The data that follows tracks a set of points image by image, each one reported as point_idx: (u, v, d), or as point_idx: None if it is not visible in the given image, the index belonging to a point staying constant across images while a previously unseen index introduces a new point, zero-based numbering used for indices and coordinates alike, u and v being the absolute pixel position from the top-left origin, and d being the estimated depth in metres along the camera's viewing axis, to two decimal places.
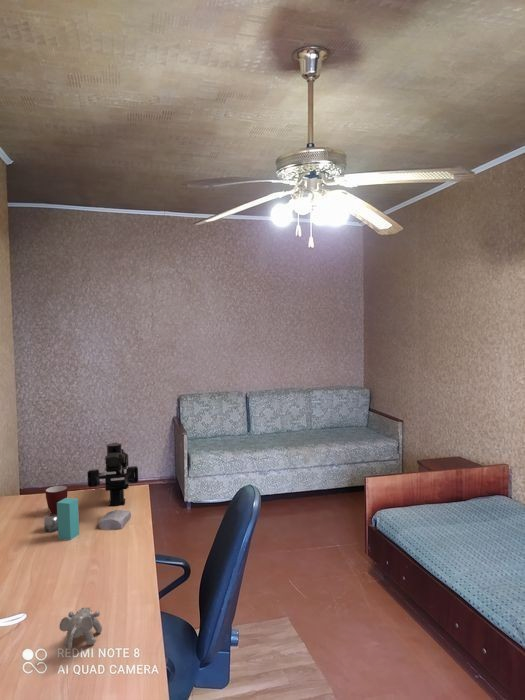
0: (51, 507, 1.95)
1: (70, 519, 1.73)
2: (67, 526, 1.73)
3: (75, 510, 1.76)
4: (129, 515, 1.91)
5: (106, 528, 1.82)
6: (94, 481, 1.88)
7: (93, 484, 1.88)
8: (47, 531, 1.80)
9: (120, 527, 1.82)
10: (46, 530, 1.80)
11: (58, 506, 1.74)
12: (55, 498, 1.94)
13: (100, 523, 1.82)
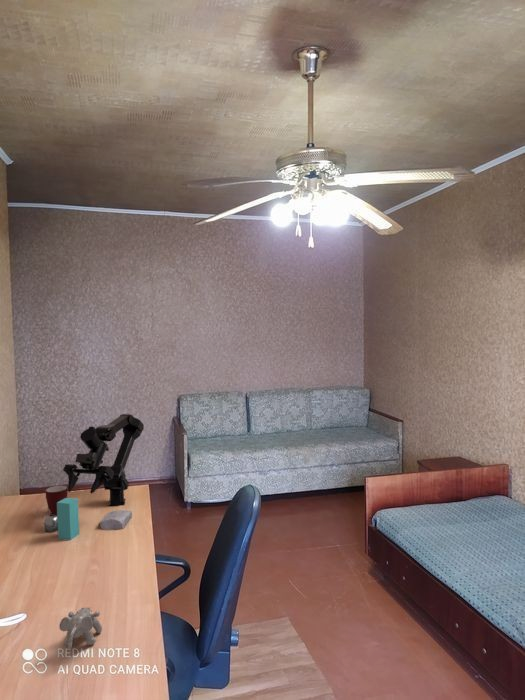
0: (51, 507, 1.95)
1: (70, 519, 1.73)
2: (67, 526, 1.73)
3: (75, 510, 1.76)
4: (130, 515, 1.91)
5: (107, 528, 1.82)
6: None
7: None
8: (47, 531, 1.80)
9: (121, 527, 1.82)
10: (46, 530, 1.80)
11: (58, 506, 1.74)
12: (55, 498, 1.94)
13: (101, 523, 1.82)
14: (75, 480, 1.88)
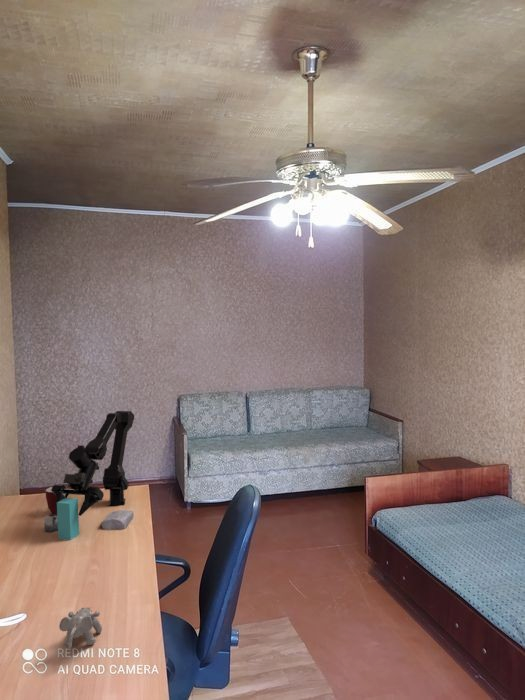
0: (51, 507, 1.95)
1: (70, 519, 1.73)
2: (67, 526, 1.73)
3: (75, 510, 1.76)
4: (132, 515, 1.91)
5: (109, 528, 1.82)
6: None
7: None
8: (47, 531, 1.80)
9: (123, 527, 1.82)
10: (46, 530, 1.80)
11: (58, 506, 1.74)
12: (55, 498, 1.94)
13: (103, 523, 1.82)
14: None
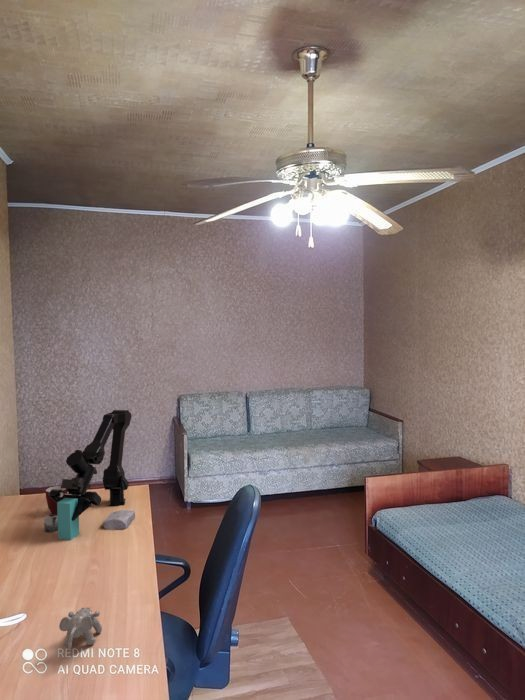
0: (51, 507, 1.95)
1: (70, 519, 1.73)
2: (68, 526, 1.73)
3: None
4: (133, 515, 1.90)
5: (111, 528, 1.82)
6: None
7: None
8: (47, 531, 1.80)
9: (125, 527, 1.82)
10: (46, 530, 1.80)
11: (58, 506, 1.74)
12: None
13: (105, 523, 1.82)
14: None
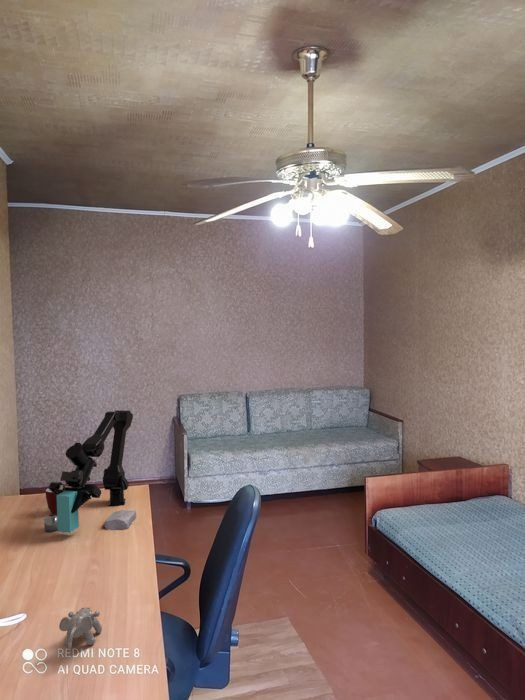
0: (51, 507, 1.95)
1: (70, 512, 1.73)
2: (67, 519, 1.73)
3: None
4: (134, 515, 1.91)
5: (112, 528, 1.82)
6: None
7: None
8: (47, 531, 1.80)
9: (126, 527, 1.82)
10: (46, 530, 1.80)
11: (58, 499, 1.74)
12: (55, 498, 1.94)
13: (106, 523, 1.82)
14: None
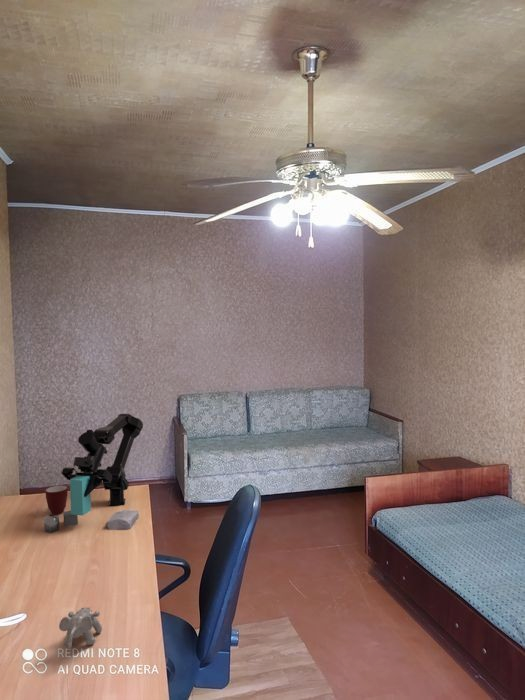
0: (51, 507, 1.95)
1: (82, 495, 1.81)
2: (80, 502, 1.81)
3: None
4: (137, 515, 1.90)
5: (115, 528, 1.82)
6: None
7: None
8: (47, 531, 1.80)
9: (129, 527, 1.82)
10: (46, 530, 1.80)
11: (71, 483, 1.81)
12: (55, 498, 1.94)
13: (108, 523, 1.82)
14: None
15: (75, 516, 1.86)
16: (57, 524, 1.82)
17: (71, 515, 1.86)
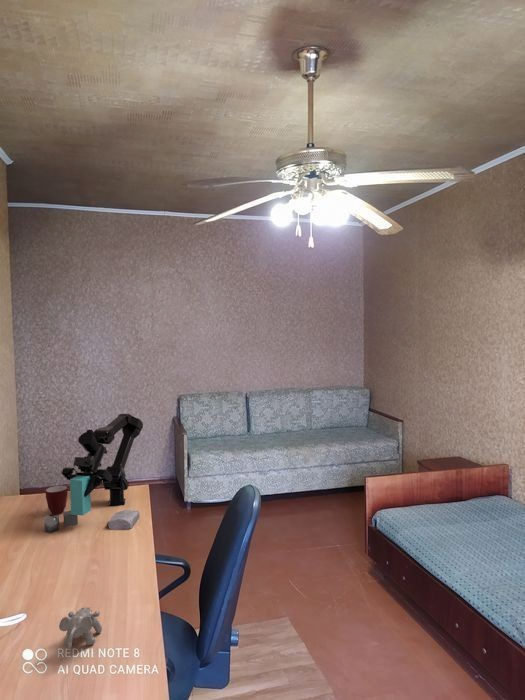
0: (51, 507, 1.95)
1: (82, 495, 1.81)
2: (80, 502, 1.81)
3: None
4: (138, 515, 1.90)
5: (115, 528, 1.82)
6: None
7: None
8: (47, 531, 1.80)
9: (130, 527, 1.82)
10: (46, 530, 1.80)
11: (71, 483, 1.81)
12: (55, 498, 1.94)
13: (109, 523, 1.82)
14: None
15: (75, 516, 1.86)
16: (57, 524, 1.82)
17: (71, 515, 1.86)
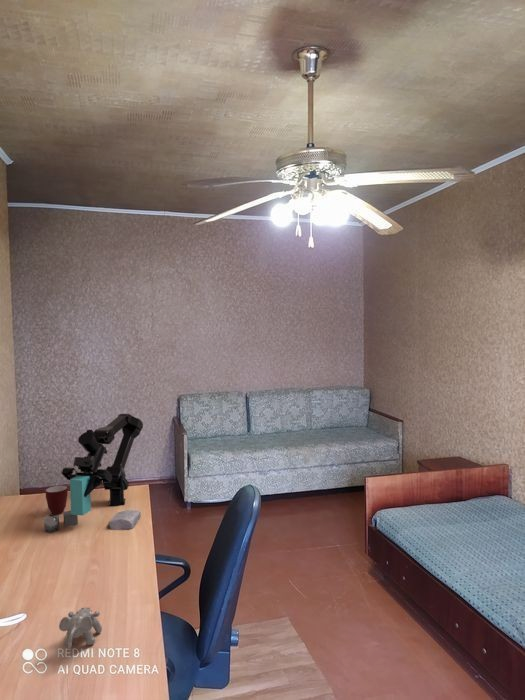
0: (51, 507, 1.95)
1: (82, 495, 1.81)
2: (80, 502, 1.81)
3: None
4: (139, 515, 1.90)
5: (117, 528, 1.82)
6: None
7: None
8: (47, 531, 1.80)
9: (131, 527, 1.82)
10: (46, 530, 1.80)
11: (71, 483, 1.81)
12: (55, 498, 1.94)
13: (111, 523, 1.82)
14: None
15: (75, 516, 1.86)
16: (57, 524, 1.82)
17: (71, 515, 1.86)
